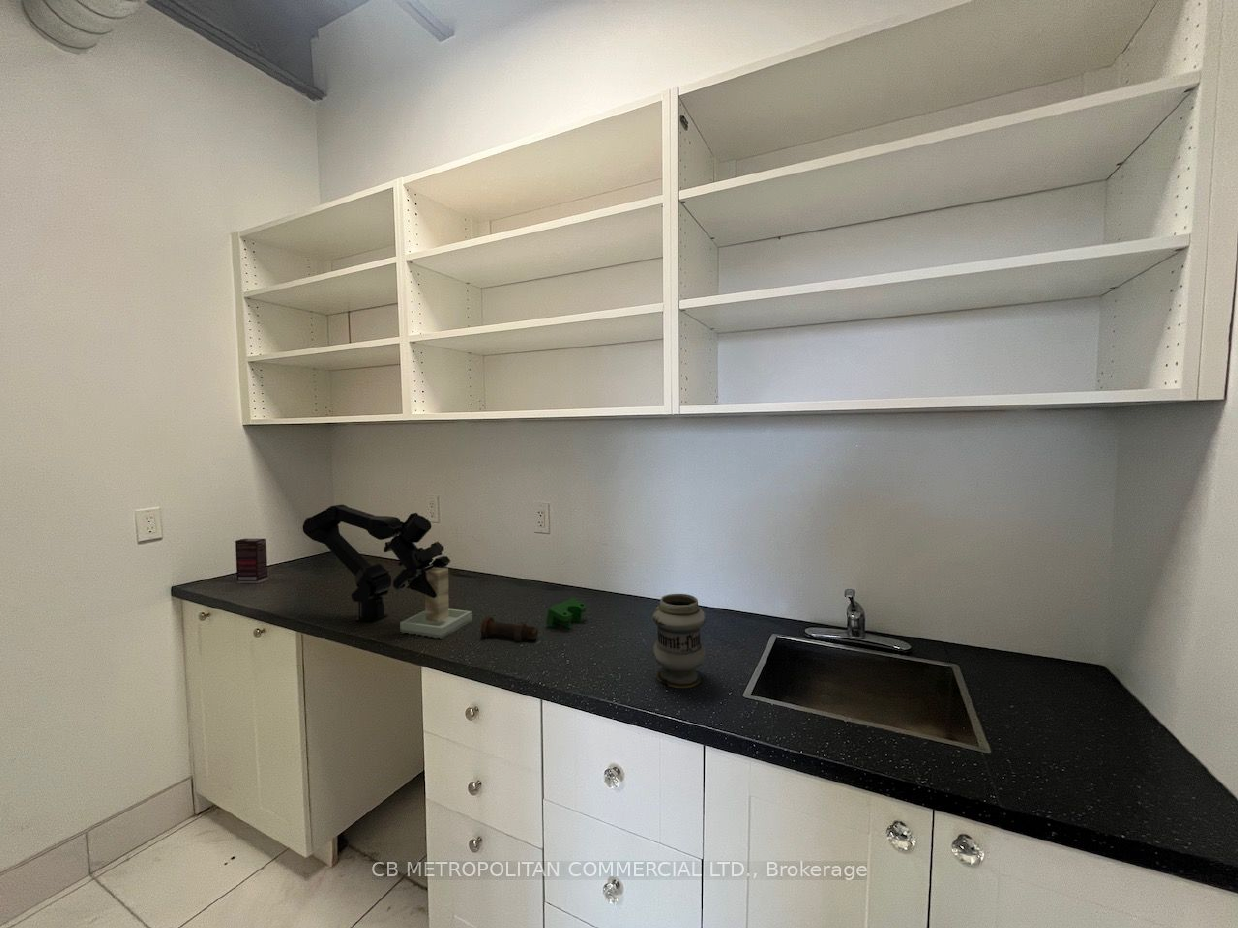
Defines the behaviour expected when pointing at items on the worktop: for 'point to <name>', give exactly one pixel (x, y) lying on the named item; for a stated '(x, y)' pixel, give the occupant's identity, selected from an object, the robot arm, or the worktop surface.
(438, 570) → the maple block
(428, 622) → the tray
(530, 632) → the bolt
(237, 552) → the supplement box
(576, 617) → the clamp
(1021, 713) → the worktop surface
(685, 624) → the apothecary jar
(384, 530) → the robot arm
